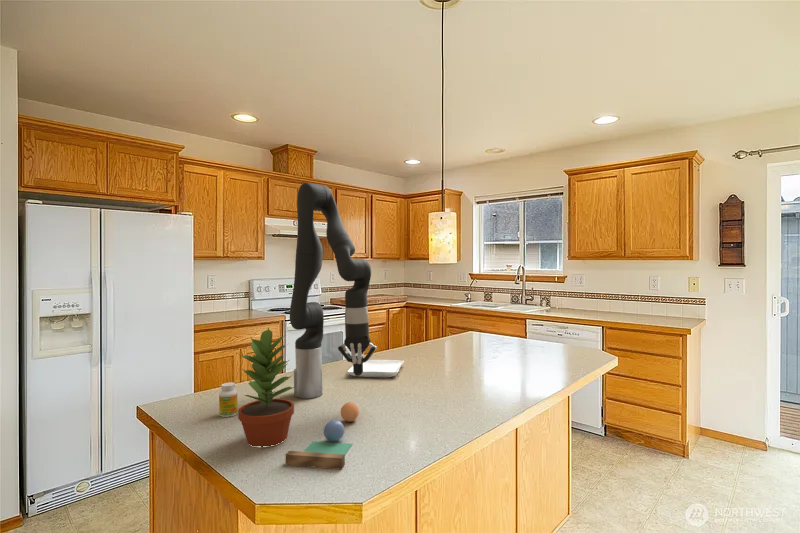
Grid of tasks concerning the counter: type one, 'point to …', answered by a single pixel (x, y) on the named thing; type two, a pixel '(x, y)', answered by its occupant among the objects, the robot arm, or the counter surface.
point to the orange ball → (349, 411)
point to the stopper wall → (315, 459)
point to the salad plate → (379, 368)
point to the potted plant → (266, 396)
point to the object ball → (334, 430)
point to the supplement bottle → (228, 400)
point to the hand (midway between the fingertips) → (358, 374)
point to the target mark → (328, 447)
